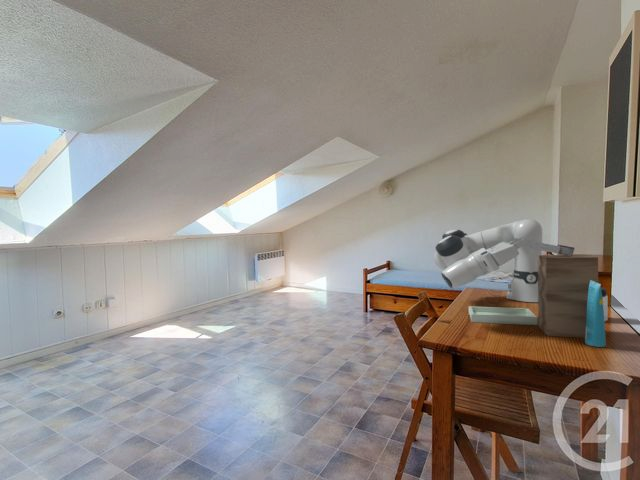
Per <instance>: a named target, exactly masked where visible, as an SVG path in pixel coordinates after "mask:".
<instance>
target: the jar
mask: <svg viewBox="0 0 640 480" xmlns="http://www.w3.org/2000/svg"><path fill="white" fill-rule="evenodd" d="M600 287H601V292H602V299H603V308H604V322H607V321H608V320H609V317H608V316H609V312H608V311H609V309H608V308H609V307H608V305H609V303H608V302H609V301H608V300H609V299H608V295H607V294H608V293H607V288H606V287H602V286H600Z"/></svg>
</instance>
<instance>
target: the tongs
mask: <svg viewBox="0 0 640 480" xmlns="http://www.w3.org/2000/svg"><path fill="white" fill-rule="evenodd" d="M519 240H521V239H518V238H515V240H514V243H516V242H518V241H519ZM526 242H527V243H526V244H525V245H523V246H521V247H527V248H532V249H537V250H542V252H547V253H551V254H556V255H567V256H572V255H574V252H575V247H572V246H568V245H562V244H557V245H556V244H555V245H554V244H549V243H544V242H542V243H539V242H534V241H529V240H526Z"/></svg>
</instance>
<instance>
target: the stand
mask: <svg viewBox="0 0 640 480" xmlns="http://www.w3.org/2000/svg"><path fill="white" fill-rule="evenodd" d="M590 280H592V281H594V282H596V283H599V256H593V255H589V254H573V255H572V256H567V255H562V254H541V255H538V302H537V305H538V306H537V307H538V308H537V309H538V310H537V311H538V314H537V315H538V316H537V319H538V328H539V329H540V330H541V331H542V332H543V334H545V335H546V336H549V337H550V336H551V337H564V338H565V337H566V338H579V339H580V338H581V339H585V332H586V314H587V300H588V290H589V284H590Z"/></svg>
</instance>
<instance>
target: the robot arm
mask: <svg viewBox="0 0 640 480" xmlns="http://www.w3.org/2000/svg"><path fill="white" fill-rule="evenodd" d="M515 238H518V239H521V240H519V241H518V242H516V243H514V240H515ZM526 240H529V241H534V242H539V243H543V227H542V225H541V223H540V222H539V221H538V220H535V219H532V218H524V219H521V220H516V221H512V222H510V223H505V224H502V225H499V226H494V227H492V228H488V229H485V230H481V231H477V232H473V233H471V234H469V235H468V234H467V233H465V232H464V231H463V230H461V229H449V230H447V231H446V232H444V233H443V234H442V239H441V240H440V241H439V242H438V243H437V244H436V246H435V252H434V253H433V260H434V261H433V262H434V263H435V265H436V266H437V267H438V268H440V269H441V270H442V271H441V277H442V279H443V281H444V282H445V283H446V284H447V286H448V287H449V288H451V289H459V288H460V287H463V286H465V285H468V284H470V283H472V282H474V281H475V280H477V279H478V278H479V277H483V276H486V275H488V274H490V273H492V272H495V271H497V270H499V269H500V267H501V266H503V265H505V264H506V263H508V262H510V261H511V260H513V259H514V270H513V273H512V274H513V279H512V281H511V283H508V284H507V289H509V290H508V291H507V292H506V300H514V301H518V302H525V303H526V302H527V303H538V255H543V254H542V253H543V251H542V250H537V249H532V248H527V247H521V246H523V245H525V244H526V243H527V242H526Z"/></svg>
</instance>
